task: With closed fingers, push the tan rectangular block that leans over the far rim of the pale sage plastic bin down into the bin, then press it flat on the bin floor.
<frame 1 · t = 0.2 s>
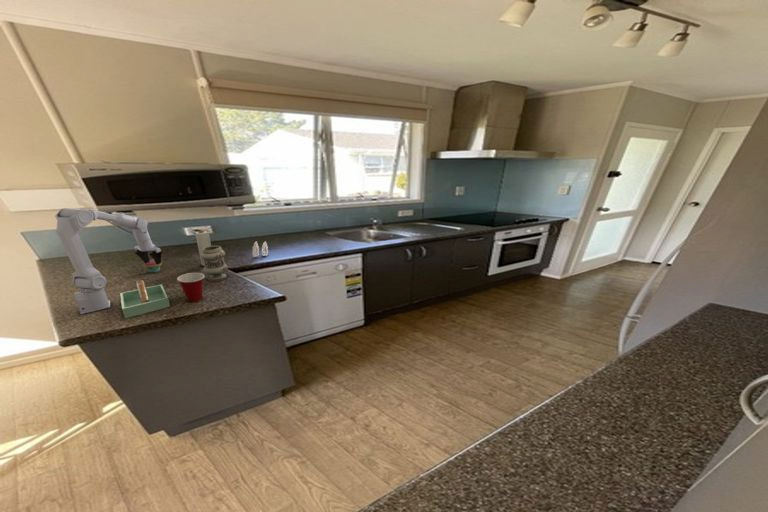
hand: (153, 263, 153), 11 cm above the countertop, tool pointing down, fingers open, 7 cm apart
plastic cup: (195, 299, 137), on the countertop
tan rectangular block: (142, 292, 133), point 4 cm above the countertop, touching bin
paper towel roll: (207, 265, 181), on the countertop
apothecary jar: (217, 278, 162), on the countertop
bin: (146, 304, 132), on the countertop
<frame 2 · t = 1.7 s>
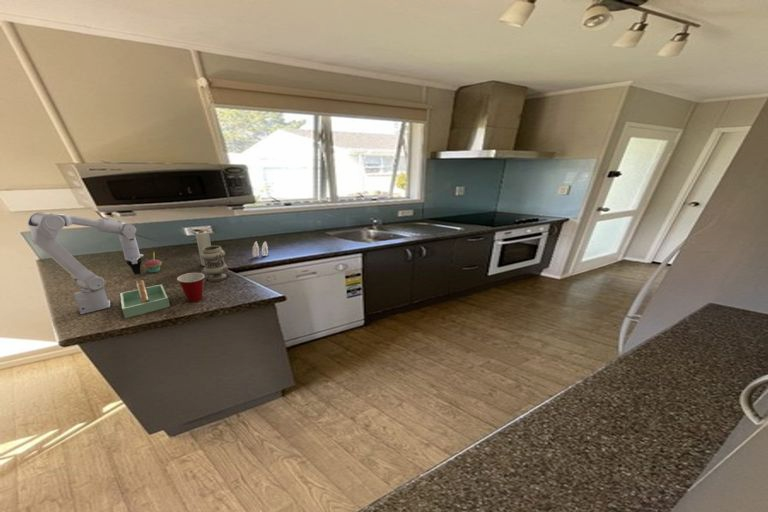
hand: (137, 273, 141), 10 cm above the countertop, tool pointing down, fingers closed
nothing on the countertop moved.
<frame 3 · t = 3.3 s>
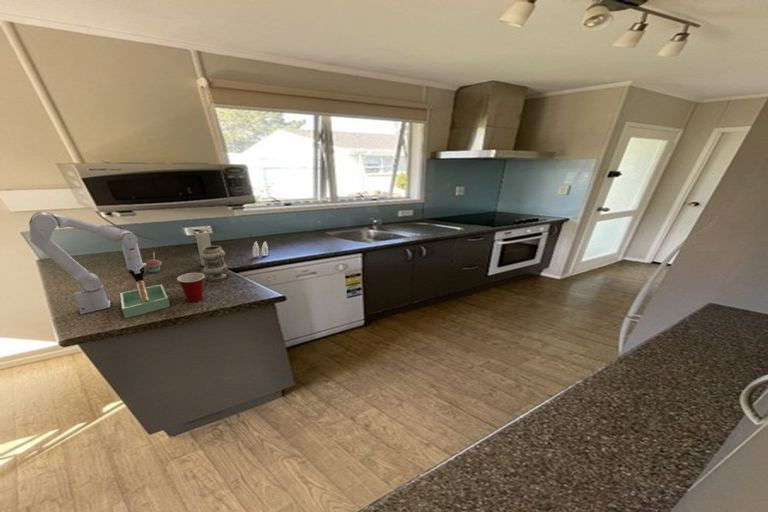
hand: (140, 283, 138), 6 cm above the countertop, tool pointing down, fingers closed
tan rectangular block: (142, 292, 133), point 4 cm above the countertop, touching gripper
everything else where it was.
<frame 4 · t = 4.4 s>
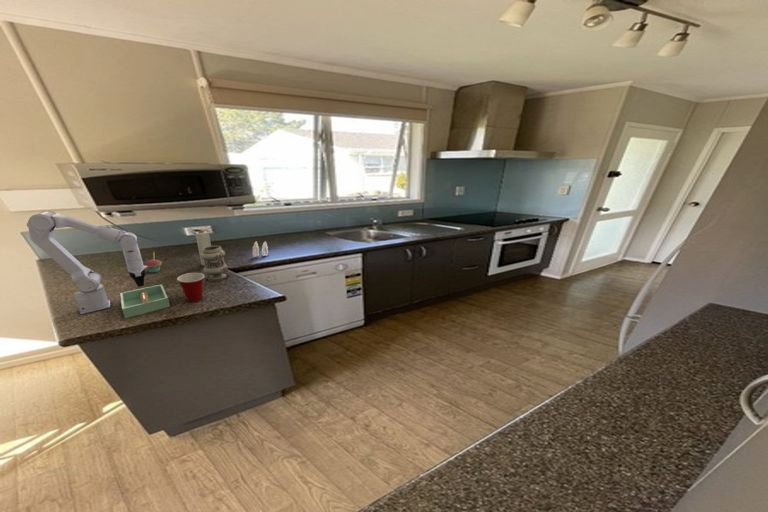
hand: (141, 286, 135), 7 cm above the countertop, tool pointing down, fingers closed
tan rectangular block: (144, 299, 132), point 2 cm above the countertop, tilted 20°, touching bin
everything else where it was.
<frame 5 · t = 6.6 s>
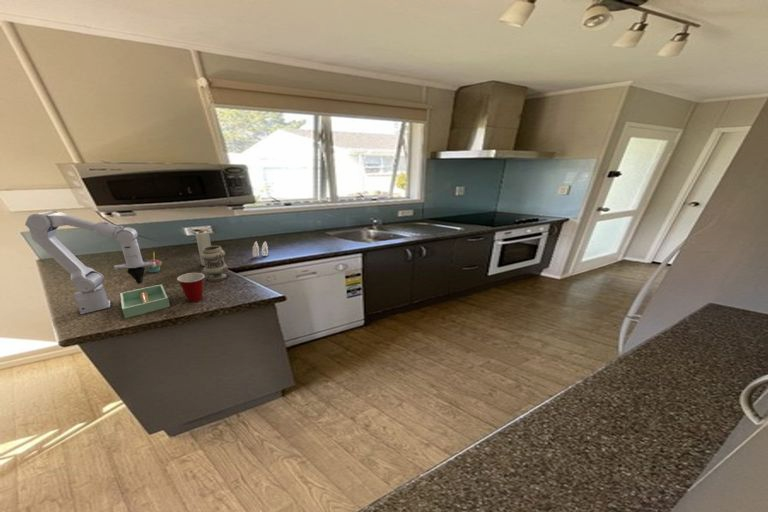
hand: (140, 282, 131), 9 cm above the countertop, tool pointing down, fingers closed
nothing on the countertop moved.
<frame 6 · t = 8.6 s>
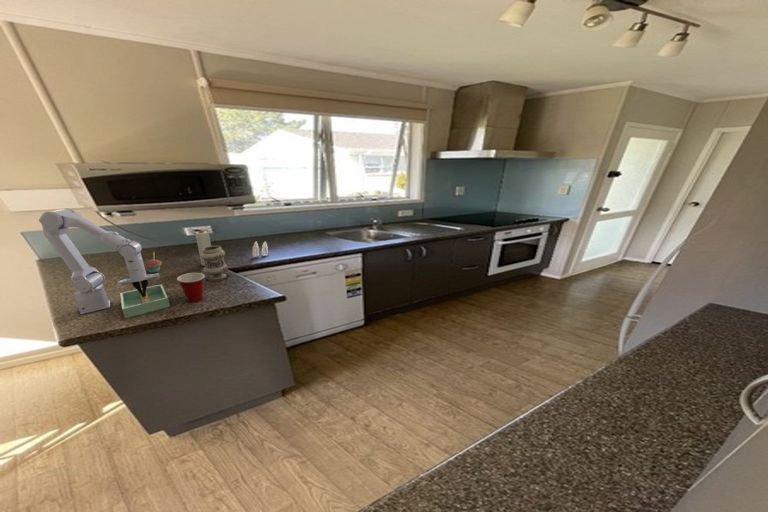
hand: (143, 295, 132), 3 cm above the countertop, tool pointing down, fingers closed, pressing on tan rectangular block
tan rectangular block: (145, 299, 132), point 2 cm above the countertop, tilted 20°, touching bin, gripper
everything else where it was.
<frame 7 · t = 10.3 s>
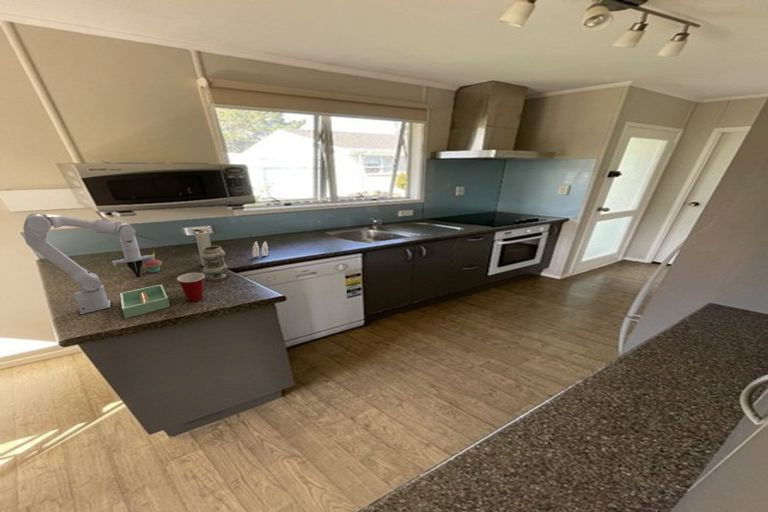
hand: (138, 276, 136), 10 cm above the countertop, tool pointing down, fingers closed
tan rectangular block: (144, 299, 132), point 2 cm above the countertop, tilted 21°, touching bin
everything else where it was.
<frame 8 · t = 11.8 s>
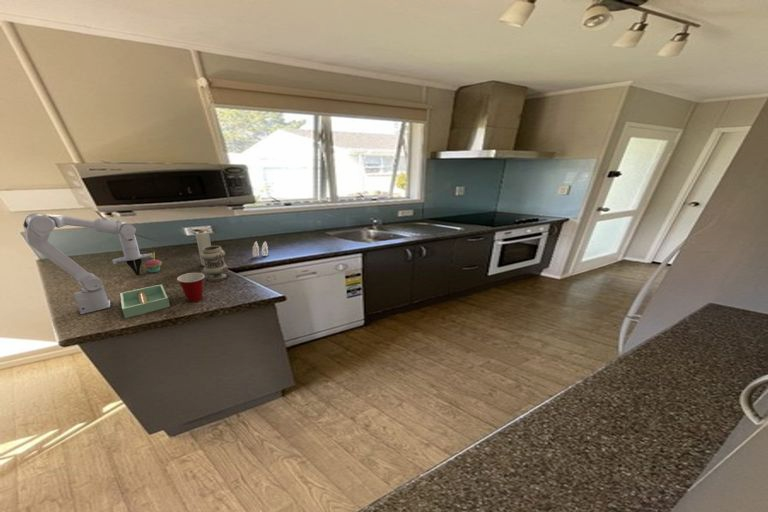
hand: (137, 274, 138), 10 cm above the countertop, tool pointing down, fingers closed
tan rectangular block: (142, 299, 131), point 2 cm above the countertop, tilted 33°, touching bin
everything else where it was.
at the end: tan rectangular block inside the target area in the bin (1.5 cm from its centre), point 2.0 cm above the bin's base; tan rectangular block point 2.0 cm above the countertop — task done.
